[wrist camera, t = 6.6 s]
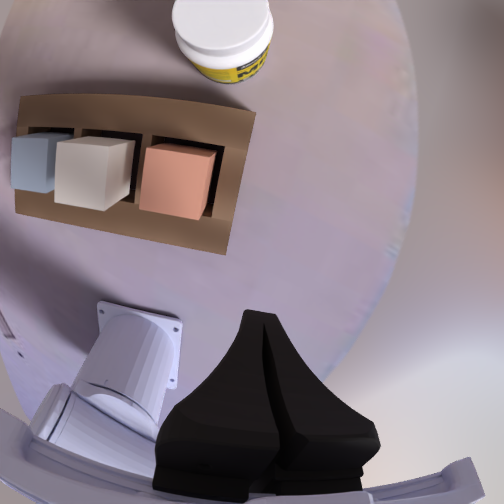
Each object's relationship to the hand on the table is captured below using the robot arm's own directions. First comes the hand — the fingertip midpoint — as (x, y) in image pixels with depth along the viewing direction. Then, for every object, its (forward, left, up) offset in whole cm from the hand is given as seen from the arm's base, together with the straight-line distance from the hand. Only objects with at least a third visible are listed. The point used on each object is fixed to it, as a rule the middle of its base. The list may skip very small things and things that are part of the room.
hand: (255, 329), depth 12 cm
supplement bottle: (+13, +4, -11) cm, 17 cm away
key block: (+4, +10, -10) cm, 15 cm away
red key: (+4, +5, -9) cm, 11 cm away
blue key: (+4, +15, -9) cm, 18 cm away
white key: (+4, +10, -8) cm, 13 cm away
